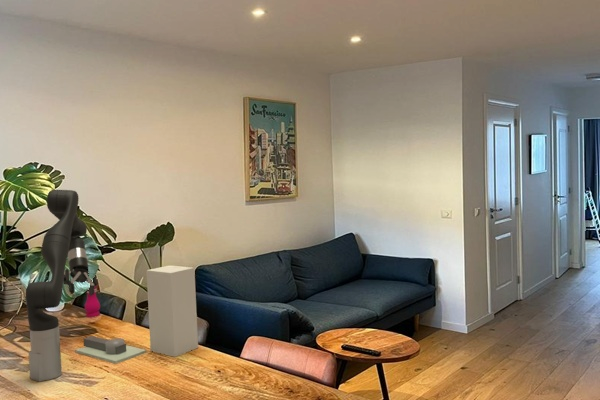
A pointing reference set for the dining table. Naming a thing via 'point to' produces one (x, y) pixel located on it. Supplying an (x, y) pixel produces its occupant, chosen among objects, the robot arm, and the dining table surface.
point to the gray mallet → (106, 344)
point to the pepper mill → (92, 305)
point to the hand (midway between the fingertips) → (82, 294)
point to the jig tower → (172, 310)
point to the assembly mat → (111, 358)
